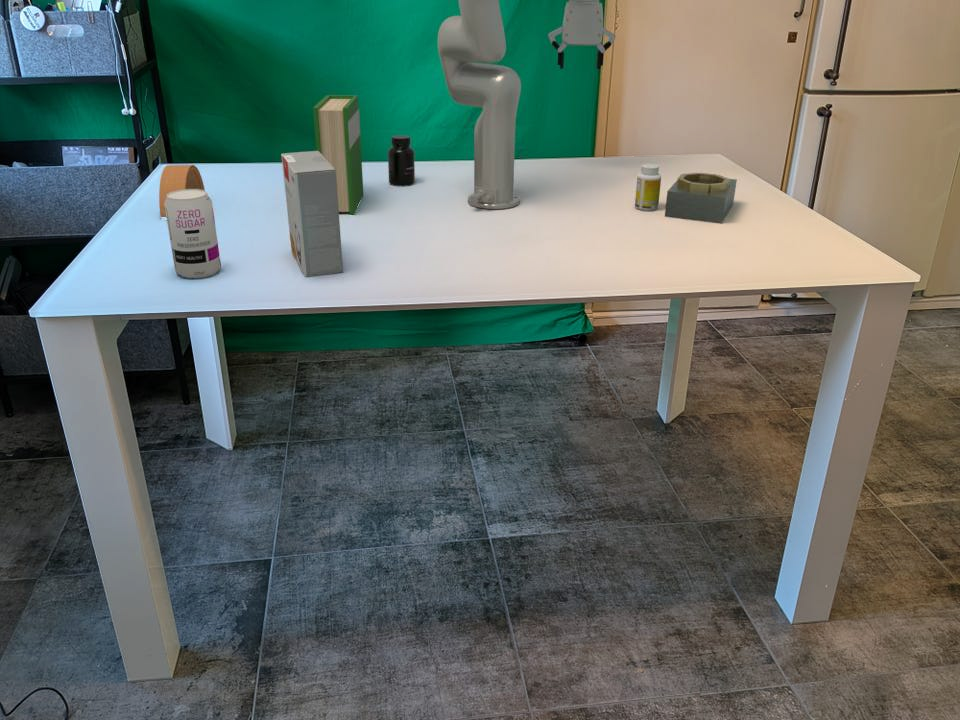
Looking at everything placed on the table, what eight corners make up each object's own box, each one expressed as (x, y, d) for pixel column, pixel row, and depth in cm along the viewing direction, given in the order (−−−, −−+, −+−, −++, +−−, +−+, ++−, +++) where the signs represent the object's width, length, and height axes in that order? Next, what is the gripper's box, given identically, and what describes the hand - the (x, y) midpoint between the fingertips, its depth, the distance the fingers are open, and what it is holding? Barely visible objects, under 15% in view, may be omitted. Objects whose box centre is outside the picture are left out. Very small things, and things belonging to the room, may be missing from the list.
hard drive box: (290, 252, 165) (280, 152, 156) (328, 248, 168) (320, 150, 159) (304, 278, 152) (294, 171, 143) (344, 273, 155) (337, 167, 146)
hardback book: (353, 215, 189) (347, 108, 178) (321, 215, 189) (313, 107, 178) (363, 195, 204) (358, 95, 194) (333, 194, 204) (326, 95, 194)
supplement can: (207, 261, 160) (195, 185, 153) (229, 272, 155) (219, 194, 148) (168, 272, 154) (154, 193, 148) (190, 283, 149) (177, 202, 143)
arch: (206, 197, 202) (200, 156, 198) (186, 220, 184) (179, 176, 180) (182, 197, 202) (176, 156, 197) (160, 221, 184) (152, 176, 179)
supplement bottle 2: (662, 208, 196) (667, 165, 191) (648, 213, 192) (653, 169, 188) (643, 203, 199) (647, 161, 195) (629, 208, 196) (633, 165, 191)
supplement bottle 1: (413, 186, 212) (412, 139, 207) (387, 186, 212) (385, 139, 207) (416, 180, 218) (414, 134, 213) (390, 179, 218) (388, 134, 213)
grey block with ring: (721, 223, 185) (726, 191, 182) (664, 216, 190) (668, 184, 186) (735, 199, 203) (740, 169, 200) (683, 193, 208) (686, 164, 205)
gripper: (551, -3, 203) (547, 69, 211) (620, -2, 203) (614, 70, 210) (549, -5, 210) (545, 66, 217) (616, -4, 210) (611, 67, 217)
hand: (579, 68), depth 214 cm, fingers open, 9 cm apart
